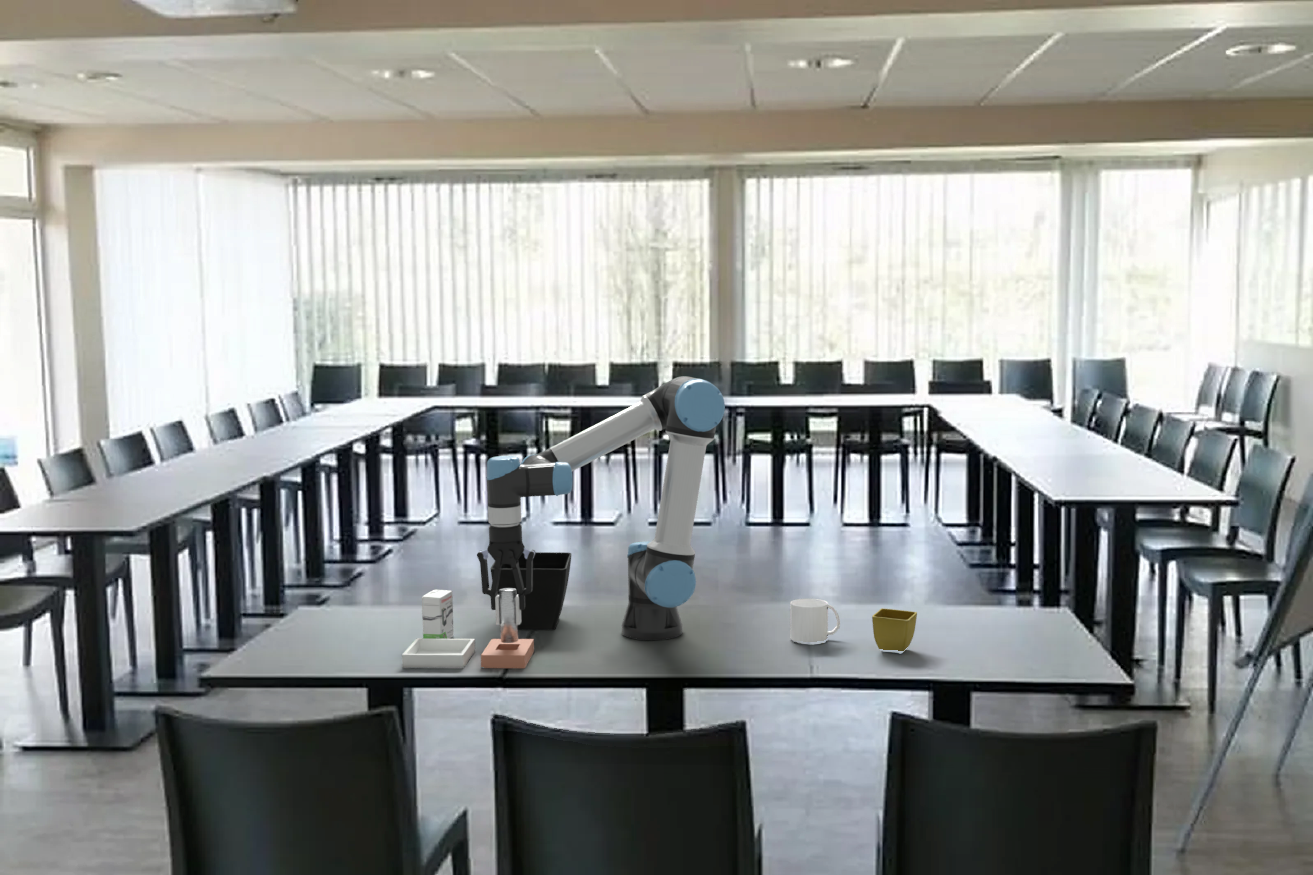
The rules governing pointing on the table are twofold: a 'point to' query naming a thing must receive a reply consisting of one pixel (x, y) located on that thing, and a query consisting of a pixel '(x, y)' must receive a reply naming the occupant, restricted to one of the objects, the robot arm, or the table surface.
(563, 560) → the flower pot
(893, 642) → the flower pot
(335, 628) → the table surface
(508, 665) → the hitch plate
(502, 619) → the pin
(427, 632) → the ink box
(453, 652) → the tray
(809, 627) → the mug
